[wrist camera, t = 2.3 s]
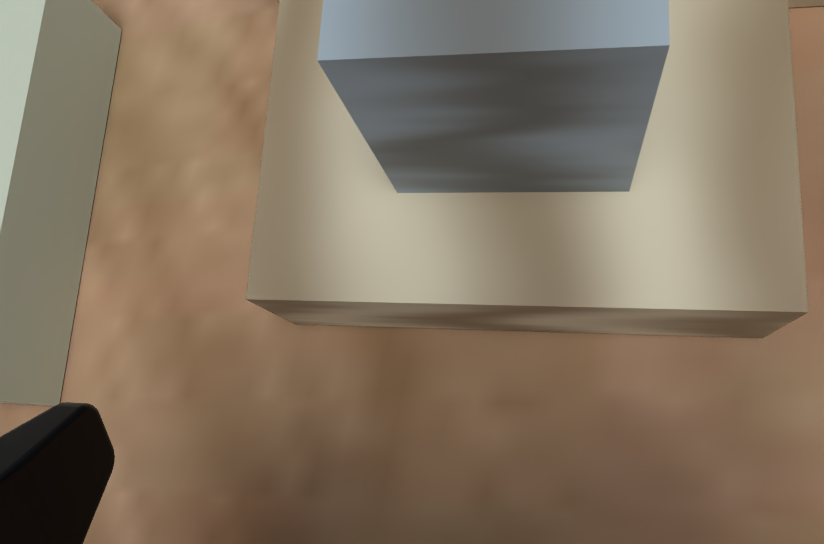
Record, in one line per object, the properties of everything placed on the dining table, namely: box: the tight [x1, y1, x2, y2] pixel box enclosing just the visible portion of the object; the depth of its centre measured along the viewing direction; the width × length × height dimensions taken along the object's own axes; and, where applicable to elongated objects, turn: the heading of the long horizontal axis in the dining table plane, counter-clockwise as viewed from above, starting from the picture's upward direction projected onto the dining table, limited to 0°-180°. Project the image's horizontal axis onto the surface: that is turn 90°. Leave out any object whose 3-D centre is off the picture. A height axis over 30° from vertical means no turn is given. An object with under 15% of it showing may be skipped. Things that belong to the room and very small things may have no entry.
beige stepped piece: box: [246, 0, 824, 338], centre depth 19 cm, size 22×13×9 cm, turn 87°
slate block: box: [317, 0, 670, 193], centre depth 16 cm, size 6×4×7 cm, turn 87°
